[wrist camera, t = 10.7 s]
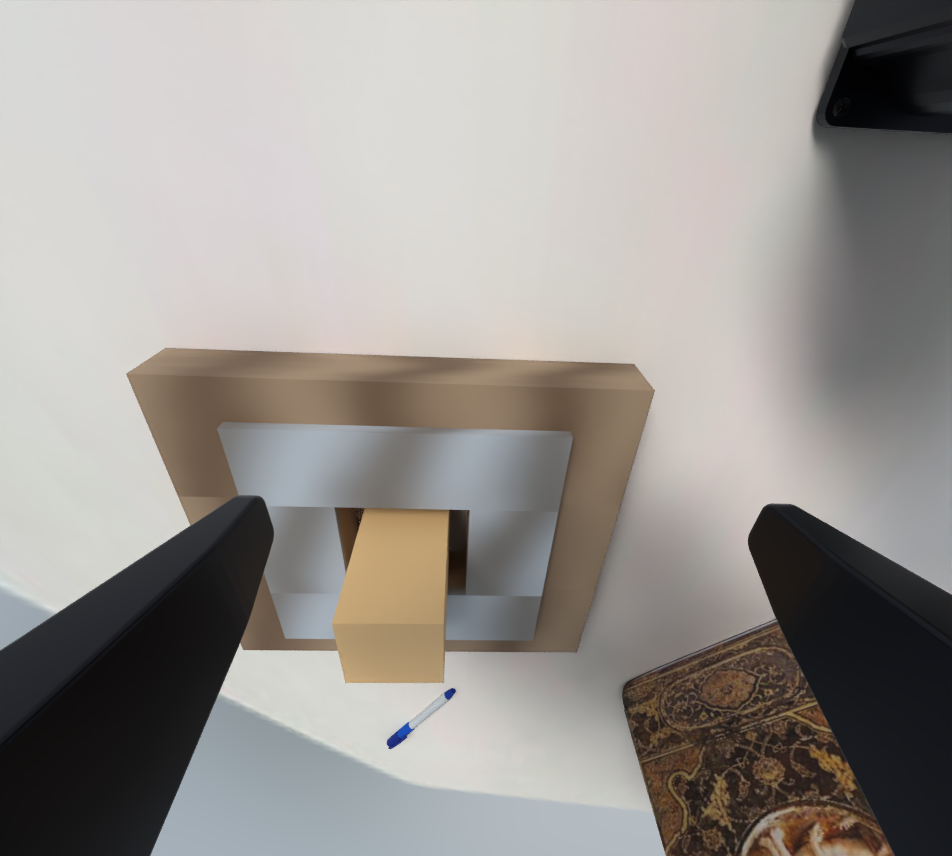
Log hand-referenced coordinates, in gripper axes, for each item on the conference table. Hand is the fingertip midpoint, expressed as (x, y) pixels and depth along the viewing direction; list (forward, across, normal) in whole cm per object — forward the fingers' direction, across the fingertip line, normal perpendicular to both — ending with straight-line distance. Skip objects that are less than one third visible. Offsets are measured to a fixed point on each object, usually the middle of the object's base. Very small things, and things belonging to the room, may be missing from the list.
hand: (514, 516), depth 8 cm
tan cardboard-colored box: (+12, +4, +11) cm, 16 cm away
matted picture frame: (+12, +4, +11) cm, 16 cm away
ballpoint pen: (+12, +5, +34) cm, 36 cm away
